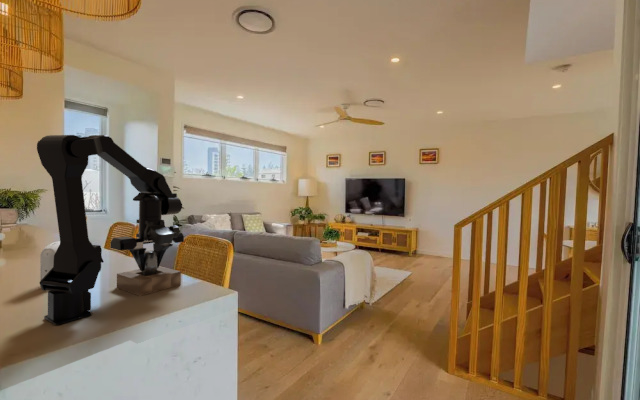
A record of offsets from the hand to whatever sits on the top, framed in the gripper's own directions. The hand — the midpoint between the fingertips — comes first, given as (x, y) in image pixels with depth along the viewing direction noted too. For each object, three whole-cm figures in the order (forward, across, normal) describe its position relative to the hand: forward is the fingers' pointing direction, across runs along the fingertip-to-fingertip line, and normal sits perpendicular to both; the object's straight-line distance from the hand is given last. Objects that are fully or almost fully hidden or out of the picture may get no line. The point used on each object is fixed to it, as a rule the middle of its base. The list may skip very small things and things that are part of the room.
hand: (149, 269), depth 89 cm
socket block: (+5, 0, 0) cm, 5 cm away
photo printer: (+5, -14, +23) cm, 27 cm away
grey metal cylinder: (+3, 0, 0) cm, 3 cm away
